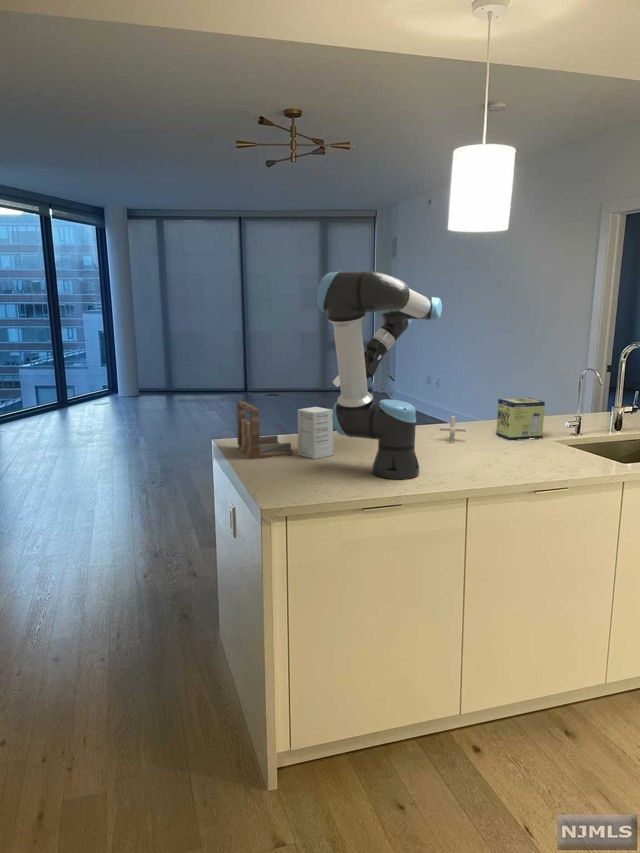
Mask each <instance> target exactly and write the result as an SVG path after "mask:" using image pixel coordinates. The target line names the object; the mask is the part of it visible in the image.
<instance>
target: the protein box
mask: <svg viewBox="0 0 640 853" xmlns="http://www.w3.org/2000/svg"><path fill="white" fill-rule="evenodd" d="M545 403H546V402H545V401H544V400H540V399H536V398H531V397H523V398H519V397H518V398H517V397H516V398H498V400H497V416H496V430H495V431H496V432H495V436H496V435H498V436H497V437H499V436H500V437H499V438H501V437H503V438H502V439H504V438H505V439H504V440H506V439H508V440H507V441H509V440H515V441H519V440H518V439H529V438H542V439H543V432H544V430H543V428H544V419H545V418H544V416H545V405H546V404H545Z"/></svg>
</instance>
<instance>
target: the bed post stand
mask: <svg viewBox="0 0 640 853" xmlns="http://www.w3.org/2000/svg"><path fill="white" fill-rule="evenodd" d="M236 401H237V403H236V426H237V428H236V431H237V434H236V435H237V445H238V449H239V450H240V449H241V450H242V451H241V450H240V451H241V452H243V451H244V452H245V453H244V452H243V453H244V454H246V455H247V456H248V455H249V456H248V457H250V458H251V457H252V458H253V459H252V458H251V459H252V460H256V459H255V458H259V459H265V458H264V457H268V458H274V457H273V456H277V457H285V456H284V455H286V456H292V455H294V454H293V452H294V451H293V450H292V443H291V442H283V443H282V442H281V443H280V442H279V441H278V437H279V436H278V435H276V434H274V435H267V436H266V435H265V436H260V412H259V407H256V406H255V405H252V404H249V403H248V402H246V401H243V400H236ZM246 411H248V412H249V421H248V420H246Z"/></svg>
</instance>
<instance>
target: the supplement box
mask: <svg viewBox="0 0 640 853" xmlns="http://www.w3.org/2000/svg"><path fill="white" fill-rule="evenodd" d="M332 414H333V408H325V407H319V406H312V407H311V406H310V407H304V408H300V409H297V445H298V446H297V453H298V454H297V455H298V456H302V457H305V458H309V459H313V460H317V459H321V458H326V457H329V456H334V425H333V420H332Z"/></svg>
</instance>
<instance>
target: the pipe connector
mask: <svg viewBox="0 0 640 853" xmlns="http://www.w3.org/2000/svg"><path fill="white" fill-rule="evenodd" d="M439 431H440V432H441V431H442V432H449V442H450V441H454V442H455V435H456V434H455V433H456V432H461V433H462V432H467V431H466V426H456V416H450V426H448V425H440V426H439Z"/></svg>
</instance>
